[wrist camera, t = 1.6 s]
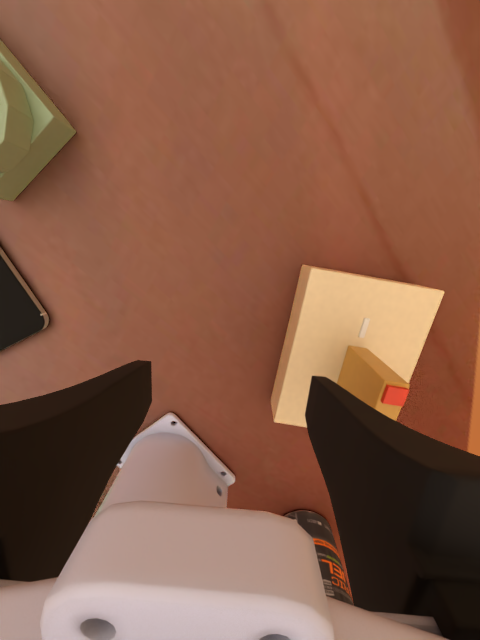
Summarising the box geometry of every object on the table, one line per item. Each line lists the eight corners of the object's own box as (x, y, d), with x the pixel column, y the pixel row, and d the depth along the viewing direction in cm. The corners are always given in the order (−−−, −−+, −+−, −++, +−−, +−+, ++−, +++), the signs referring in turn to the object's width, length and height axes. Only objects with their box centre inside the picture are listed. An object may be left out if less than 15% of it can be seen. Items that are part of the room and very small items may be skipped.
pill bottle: (341, 531, 27) (405, 723, 16) (297, 558, 28) (329, 753, 17) (306, 498, 26) (349, 680, 15) (261, 526, 27) (271, 714, 16)
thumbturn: (349, 403, 19) (385, 458, 14) (331, 400, 19) (360, 454, 14) (367, 348, 18) (413, 387, 13) (348, 344, 18) (387, 382, 13)
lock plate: (369, 416, 23) (387, 442, 20) (270, 400, 23) (273, 423, 20) (416, 284, 20) (447, 291, 17) (301, 264, 20) (312, 267, 17)
